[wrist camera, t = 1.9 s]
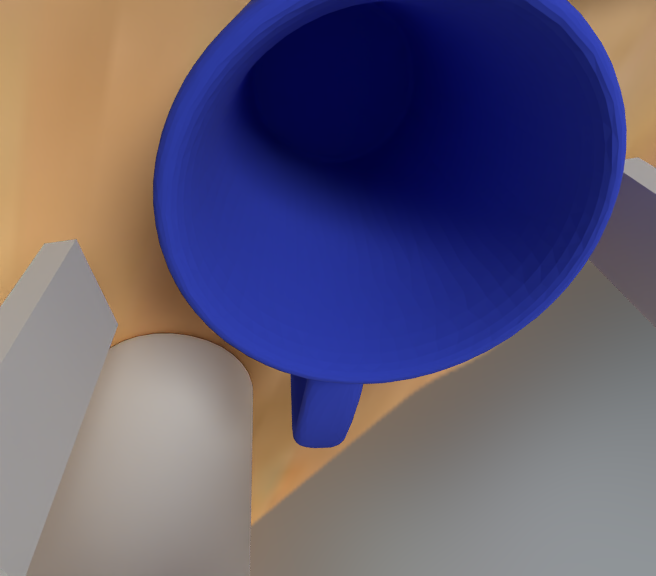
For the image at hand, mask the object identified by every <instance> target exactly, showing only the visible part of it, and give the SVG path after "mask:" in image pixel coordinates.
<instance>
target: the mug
mask: <svg viewBox="0 0 656 576" xmlns="http://www.w3.org/2000/svg"><path fill="white" fill-rule="evenodd" d="M625 155H626V119H625V109H624V103H623V99H622V95H621V90H620V87H619V84H618V81H617V77H616V74H615V71H614V68H613V65H612V63H611V61H610V59H609V57H608V55H607V53H606V51H605V49H604V47H603V45H602V43H601V41H600V40H599V39H598V37H597V36H596V34H595V33H594V31H593V30H592V28H591V27H590V25H589V24H588V23H587V21H586V20H585V19H584V18H583V16H582V15H581V14H580V13H579V12H578V11H577V10H576V9H575V8H574V7H573V6H572V5H571V4H570V3H569V2H568V1H567V0H251V1H250V2H249V3H248V4H247V5H246V6H245V7H244V8H243V9H242V11H241V12H240V13H239V14H238V15H237V16H236V17H235V18H234V19H233V20H232V21H231V22H230V23H229V24H228V25H227V26H226V27H225V28H224V29H223V30H222V31H221V32H220V33H219V34H218V36H217V37H216V38H215V39H214V40H213V41H212V42H211V43H210V45H209V46H208V47H207V48H206V50H205V51H204V52H203V54H202V55H201V56H200V58H199V59H198V60H197V62H196V63H195V64H194V66H193V67H192V69H191V70H190V72H189V74H188V75H187V77H186V78H185V80H184V82H183V84H182V86H181V88H180V89H179V92H178V94H177V96H176V98H175V100H174V102H173V104H172V107H171V109H170V111H169V114H168V117H167V119H166V122H165V125H164V128H163V131H162V134H161V139H160V143H159V147H158V152H157V156H156V162H155V171H154V180H153V206H154V215H155V223H156V229H157V234H158V238H159V243H160V246H161V249H162V252H163V255H164V258H165V261H166V263H167V266H168V269H169V271H170V273H171V275H172V277H173V279H174V281H175V283H176V285H177V287H178V288H179V290H180V292H181V293H182V295H183V296H184V298H185V299H186V301H187V302H188V303H189V305H190V306H191V307H192V309H193V310H194V312H195V313H196V314H197V315H198V316H199V317H200V318H201V319H202V320H203V321H204V322H205V323H206V325H207V326H208V327H209V328H211V329H212V330H213V331H214V332H215V333H216V334H217V335H219V336H220V337H221V338H222V339H223V340H224V341H226V342H227V343H229V344H230V345H232V346H233V347H235V348H236V349H238V350H239V351H241V352H242V353H244V354H245V355H247V356H249V357H251V358H253V359H255V360H257V361H259V362H261V363H263V364H265V365H267V366H270V367H272V368H275V369H277V370H279V371H282V372H286V373H289V374H291V401H292V430H293V437H294V439H295V441H296V443H298V444H299V445H301V446H304V447H310V448H328V447H334V446H336V445H339V444H340V443H341V442H342V441H343V440H344V439H345V437H346V434H347V432H348V430H349V427H350V425H351V423H352V420H353V417H354V414H355V411H356V408H357V405H358V402H359V399H360V395H361V391H362V387H363V384H373V383H386V382H394V381H400V380H406V379H412V378H416V377H420V376H424V375H428V374H432V373H435V372H438V371H441V370H444V369H447V368H450V367H453V366H455V365H458V364H461V363H463V362H465V361H468V360H470V359H472V358H474V357H476V356H478V355H480V354H482V353H484V352H486V351H488V350H490V349H492V348H493V347H495V346H497V345H498V344H500V343H502V342H503V341H505V340H507V339H508V338H510V337H511V336H513V335H514V334H516V333H517V332H518V331H519V330H521V329H522V328H523V327H525V326H526V325H527V324H529V323H530V322H531V321H533V320H534V319H535V318H537V317H538V316H539V315H540V314H541V313H542V312H543V311H544V310H546V309H547V308H548V307H549V306H550V305H551V304H552V303H553V302H554V301H555V299H557V298H558V297H559V296H560V295H561V293H562V292H563V291H564V290H565V289H566V288H567V287H568V286H569V285H570V283H571V282H572V281H573V279H574V278H575V277H576V275H577V274H578V273H579V272H580V270H581V269H582V268H583V266H584V265H585V263H586V262H587V260H588V259H589V257H590V256H591V254H592V253H593V251H594V249H595V248H596V246H597V244H598V242H599V241H600V238H601V236H602V234H603V232H604V230H605V228H606V225H607V223H608V221H609V219H610V217H611V214H612V211H613V208H614V205H615V202H616V199H617V196H618V193H619V190H620V186H621V181H622V176H623V172H624V164H625Z"/></svg>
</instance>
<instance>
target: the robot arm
mask: <svg viewBox="0 0 656 576" xmlns="http://www.w3.org/2000/svg"><path fill="white" fill-rule="evenodd" d="M589 260H590V261H591V262H592V263H593V264H594V265H595V266H596V267H597V268H598V269H599V270H600V272H601V273H602V274H603V275H604V276H605V277H607V279H609V281H610V282H612V284H613V285H614V286H616V288H617V289H618V290H619V291H620V292H621V293H622V294H623V295H624V296H625V297H626V298H627V299H628V300H629V301H630V302H631V303H632V304H633V305H634V306H635V307H636V308H637V309H638V310H639V311H640V312H641V313H642V314H643V315H644V316H645V317H646V318H647V319H648V320H649V321H650V322H651V323H652V324H653V325H654V326H655V327H656V168H655V167H653V166H652V165H650V164H648V163H647V162H645V161H643V160H642V159H640V158H632V159H625V164H624V172H623V176H622V181H621V186H620V190H619V193H618V196H617V199H616V202H615V205H614V208H613V211H612V214H611V217H610V219H609V221H608V223H607V225H606V228H605V230H604V232H603V234H602V236H601V238H600V241H599V242H598V244H597V246H596V248H595V249H594V251H593V253H592V254H591V256H590V257H589ZM117 326H118V323H117V321H116V319H115V317H114V315H113V313H112V311H111V309H110V307H109V305H108V303H107V301H106V299H105V297H104V295H103V293H102V291H101V289H100V287H99V285H98V283H97V281H96V278H95V276H94V274H93V272H92V270H91V268H90V266H89V264H88V262H87V260H86V258H85V256H84V254H83V252H82V250H81V248H80V246H79V244H78V242H77V240H76V239H74V240H67V241H60V242H53V243H46V244H44V245H43V246H42V248H41V249H40V251H39V252H38V254H37V255H36V256H35V258H34V259H33V261H32V262H31V264H30V265H29V267H28V268H27V269H26V271H25V272H24V274H23V275H22V277H21V278H20V279H19V281H18V282H17V284H16V285H15V287H14V288H13V289H12V291H11V292H10V294H9V295H8V297H7V298H6V299H5V301H4V302H3V304H2V305H1V307H0V576H26V573H27V570H28V568H29V565H30V562H31V560H32V557H33V554H34V551H35V549H36V546H37V543H38V541H39V538H40V535H41V532H42V530H43V527H44V524H45V522H46V519H47V516H48V513H49V511H50V508H51V505H52V503H53V500H54V497H55V494H56V492H57V489H58V486H59V484H60V481H61V478H62V475H63V473H64V470H65V467H66V465H67V462H68V459H69V456H70V454H71V451H72V448H73V446H74V443H75V440H76V437H77V435H78V432H79V429H80V427H81V424H82V421H83V418H84V416H85V413H86V410H87V408H88V405H89V402H90V399H91V397H92V394H93V391H94V389H95V386H96V383H97V380H98V378H99V375H100V372H101V370H102V367H103V364H104V361H105V359H106V356H107V353H108V351H109V348H110V345H111V342H112V340H113V337H114V334H115V332H116V329H117Z"/></svg>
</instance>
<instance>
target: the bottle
mask: <svg viewBox="0 0 656 576" xmlns="http://www.w3.org/2000/svg"><path fill="white" fill-rule="evenodd" d="M252 431H253V385H252V382H251V379H250V376H249V373H248V372H247V370H246V369H245V367H244V366H243V364H242V363H241V362H240V361H239V360H238V359H237V358H236V357H235V356H234V355H233V354H231V353H230V352H228V351H227V350H225V349H224V348H222V347H221V346H219V345H216V344H214V343H212V342H209V341H207V340H204V339H200V338H197V337H193V336H189V335H181V334H174V333H158V334H149V335H143V336H137V337H134V338H131V339H128V340H125V341H122V342H120V343H119V344H117V345H115V346H113V347H111V348H109V351H108V353H107V356H106V359H105V361H104V364H103V367H102V370H101V372H100V375H99V378H98V380H97V383H96V386H95V389H94V391H93V394H92V397H91V399H90V402H89V405H88V408H87V410H86V413H85V416H84V418H83V421H82V424H81V427H80V429H79V432H78V435H77V437H76V440H75V443H74V446H73V448H72V451H71V454H70V456H69V459H68V462H67V465H66V467H65V470H64V473H63V475H62V478H61V481H60V484H59V486H58V489H57V492H56V494H55V497H54V500H53V503H52V505H51V508H50V511H49V513H48V516H47V519H46V522H45V524H44V527H43V530H42V532H41V535H40V538H39V541H38V543H37V546H36V549H35V551H34V554H33V557H32V560H31V562H30V565H29V568H28V570H27V573H26V576H250V541H251V486H252Z"/></svg>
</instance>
